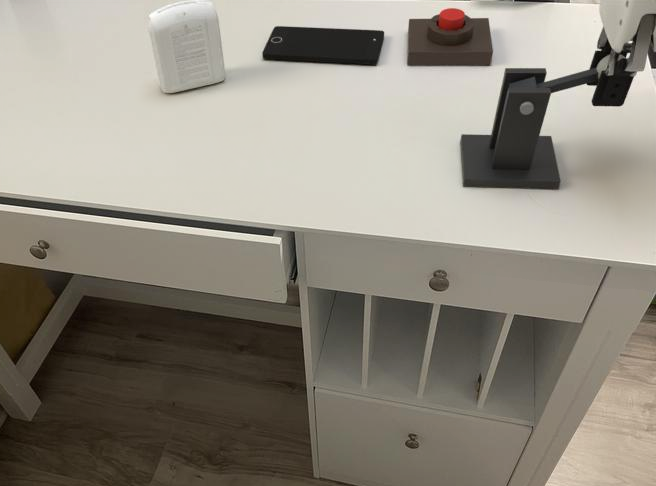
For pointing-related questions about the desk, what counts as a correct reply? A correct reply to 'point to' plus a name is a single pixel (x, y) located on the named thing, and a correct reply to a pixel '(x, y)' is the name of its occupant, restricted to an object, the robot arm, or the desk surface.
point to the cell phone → (324, 45)
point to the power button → (451, 19)
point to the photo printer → (187, 45)
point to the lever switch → (566, 79)
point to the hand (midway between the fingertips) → (603, 93)
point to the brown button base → (449, 43)
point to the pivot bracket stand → (513, 140)
